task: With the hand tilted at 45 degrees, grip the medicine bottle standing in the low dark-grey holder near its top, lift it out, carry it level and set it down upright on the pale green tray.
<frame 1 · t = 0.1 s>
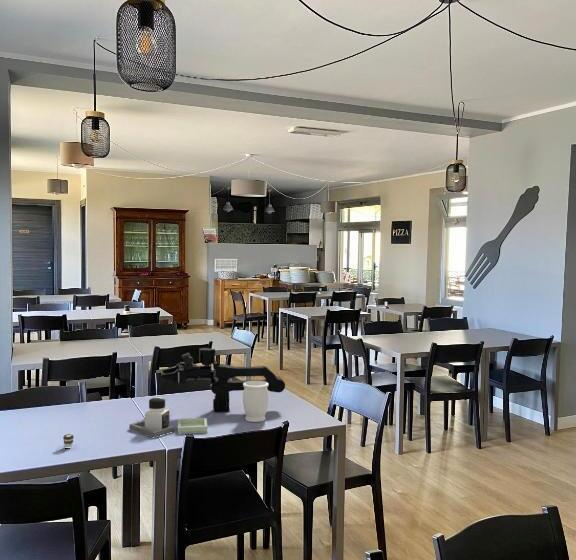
hand: (162, 373, 241), 17 cm above the table, tool horizontal, fingers open, 9 cm apart
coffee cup: (68, 449, 197), on the table
jar: (255, 419, 233), on the table
medicine bottle: (157, 429, 219), on the table
tray: (192, 428, 220), on the table
holder: (157, 429, 219), on the table
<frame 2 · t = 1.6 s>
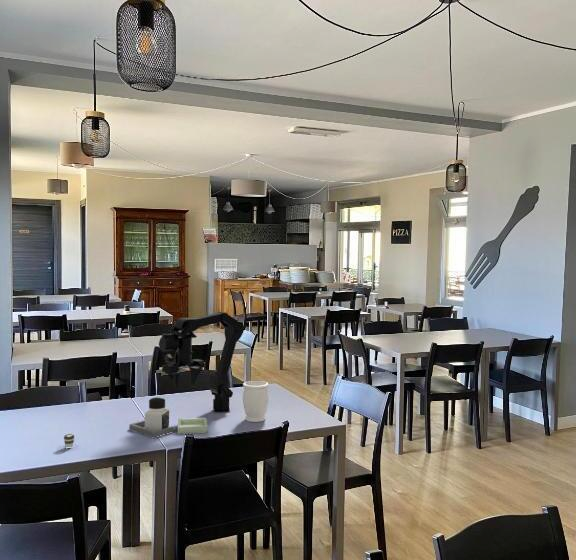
hand: (183, 386, 233), 13 cm above the table, tool pointing down, fingers open, 9 cm apart
nothing on the table moved.
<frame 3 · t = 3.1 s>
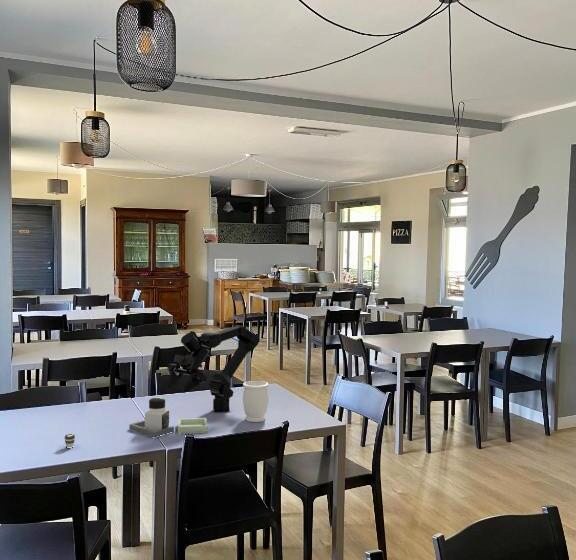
hand: (175, 390, 225), 13 cm above the table, tool tilted 45°, fingers open, 9 cm apart
nothing on the table moved.
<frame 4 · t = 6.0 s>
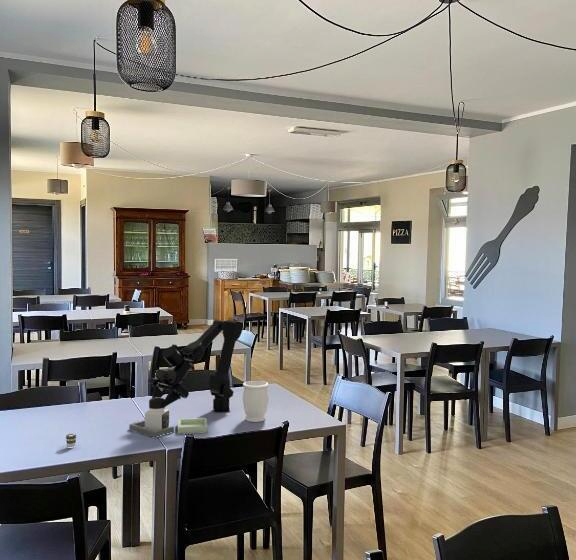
hand: (156, 406, 218), 9 cm above the table, tool tilted 45°, fingers closed on medicine bottle, 6 cm apart
medicine bottle: (157, 429, 219), on the table, touching gripper
everything else where it was.
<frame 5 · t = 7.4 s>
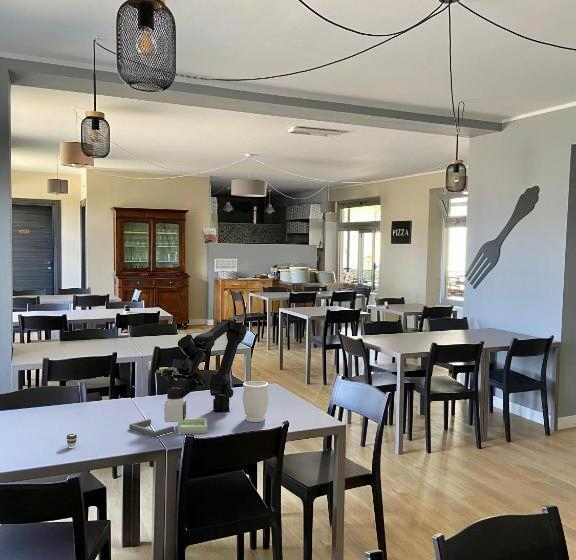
hand: (174, 396, 217), 13 cm above the table, tool tilted 45°, fingers closed on medicine bottle, 6 cm apart
medicine bottle: (175, 420, 218), point 4 cm above the table, touching gripper
when the fingers open (11 cm above the table, at t = 9.3 s): medicine bottle stays where it is, resting on tray.
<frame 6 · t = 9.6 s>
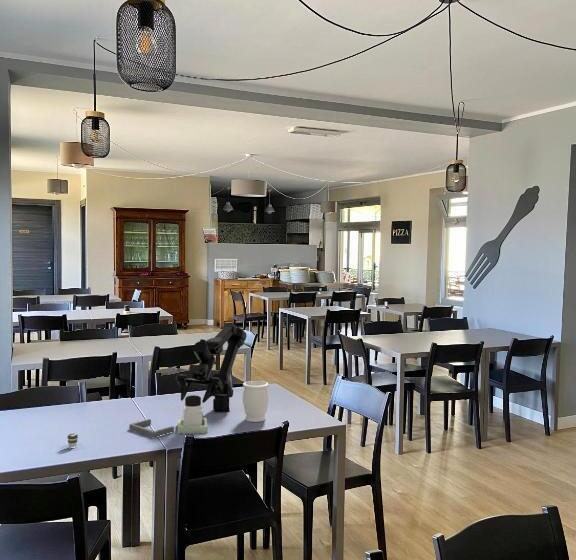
hand: (192, 401, 219), 11 cm above the table, tool tilted 45°, fingers open, 9 cm apart
medicine bottle: (192, 427, 220), resting on tray
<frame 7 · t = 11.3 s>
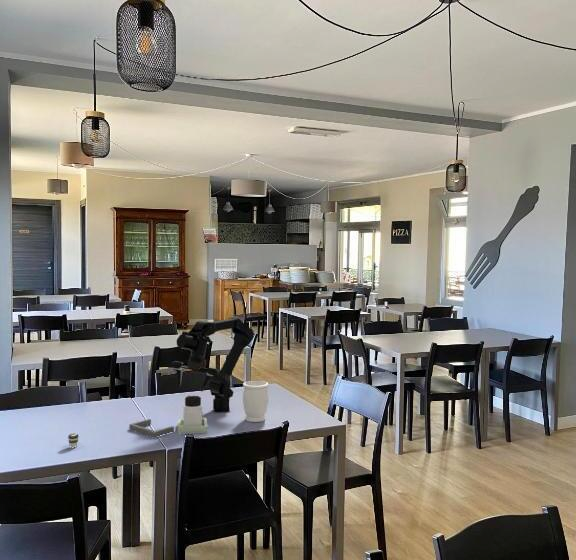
hand: (190, 389, 231), 12 cm above the table, tool tilted 15°, fingers open, 9 cm apart
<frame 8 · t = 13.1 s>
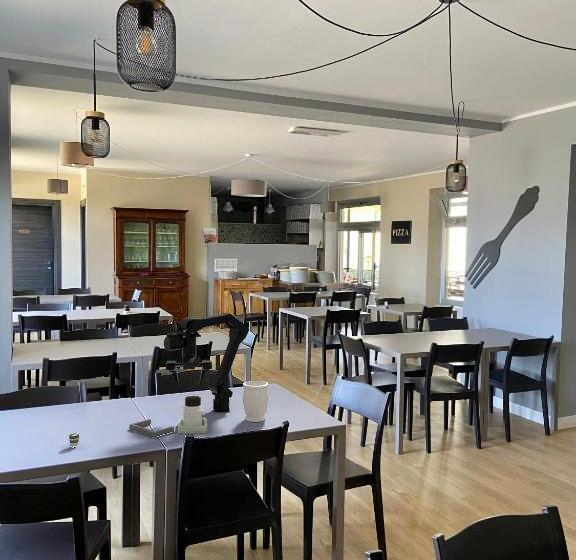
hand: (189, 385, 235), 13 cm above the table, tool pointing down, fingers open, 9 cm apart
at the end: medicine bottle inside the target area on the tray (0.2 cm from its centre), point 0.4 cm above the tray's base; medicine bottle tilted 0°; the gripper is holding nothing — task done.
